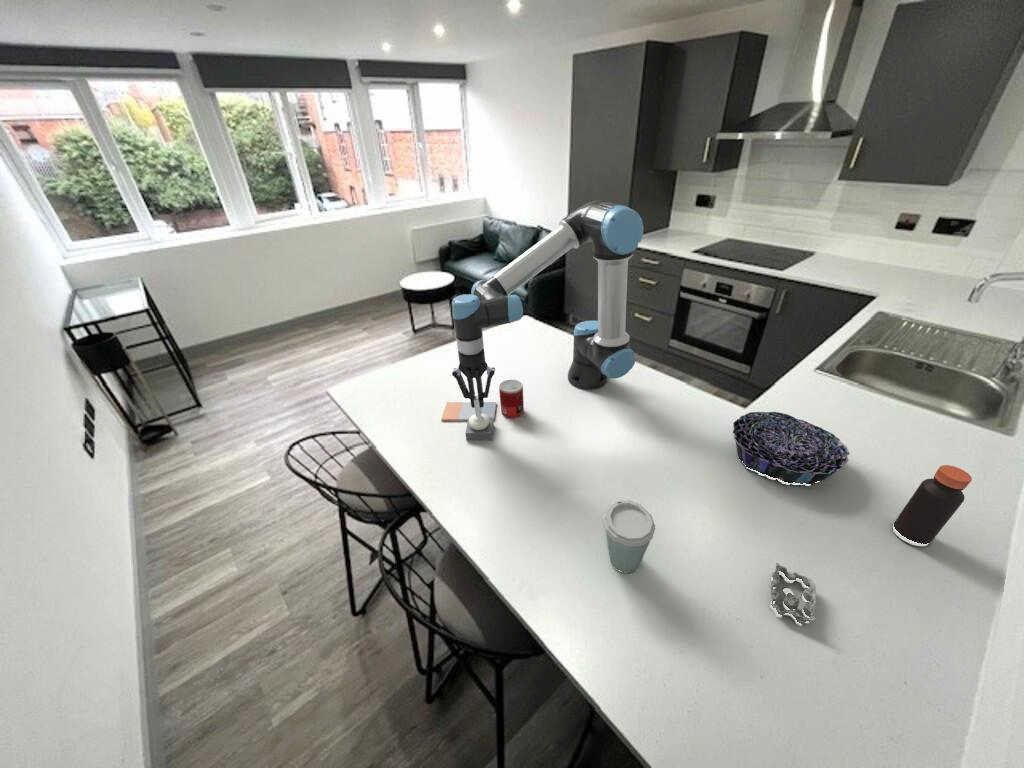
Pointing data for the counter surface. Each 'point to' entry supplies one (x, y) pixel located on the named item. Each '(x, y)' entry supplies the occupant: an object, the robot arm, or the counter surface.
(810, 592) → the grey lumpy piece
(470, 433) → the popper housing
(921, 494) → the bottle
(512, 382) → the canned food
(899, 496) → the counter surface
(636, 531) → the disposable coffee cup
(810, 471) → the decorative bowl
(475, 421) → the dome button
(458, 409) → the flat rectangular panel
